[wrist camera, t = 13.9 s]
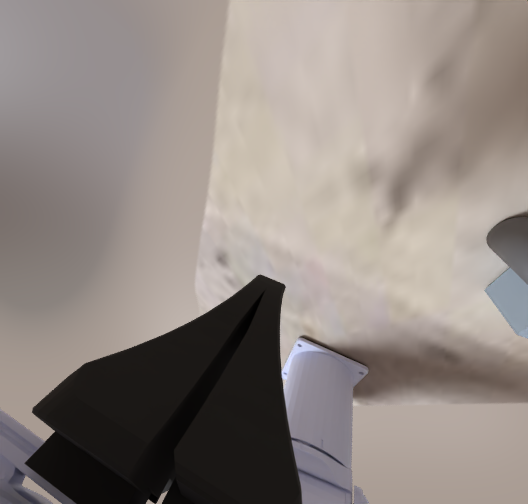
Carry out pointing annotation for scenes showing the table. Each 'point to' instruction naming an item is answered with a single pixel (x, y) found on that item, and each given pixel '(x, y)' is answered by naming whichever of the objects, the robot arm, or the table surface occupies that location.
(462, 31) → the table surface
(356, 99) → the table surface
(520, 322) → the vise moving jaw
